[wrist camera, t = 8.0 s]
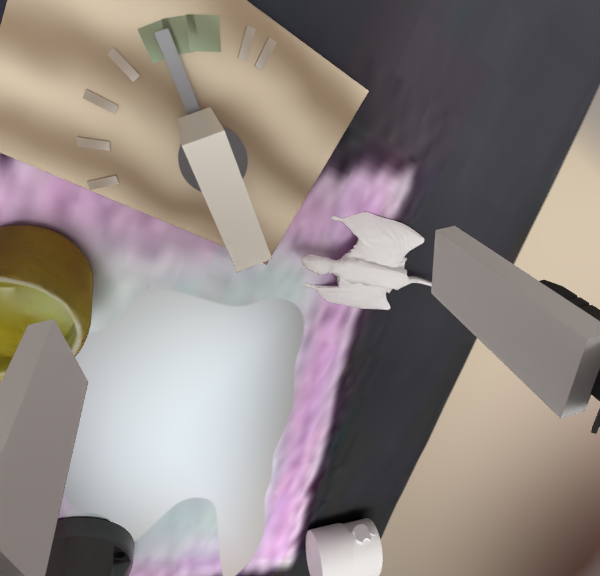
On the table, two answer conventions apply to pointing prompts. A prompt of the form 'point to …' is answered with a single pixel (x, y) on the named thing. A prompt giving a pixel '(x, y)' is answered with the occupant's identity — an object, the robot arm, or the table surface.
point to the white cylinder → (344, 549)
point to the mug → (42, 287)
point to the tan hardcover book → (168, 102)
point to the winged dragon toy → (368, 263)
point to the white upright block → (216, 168)
